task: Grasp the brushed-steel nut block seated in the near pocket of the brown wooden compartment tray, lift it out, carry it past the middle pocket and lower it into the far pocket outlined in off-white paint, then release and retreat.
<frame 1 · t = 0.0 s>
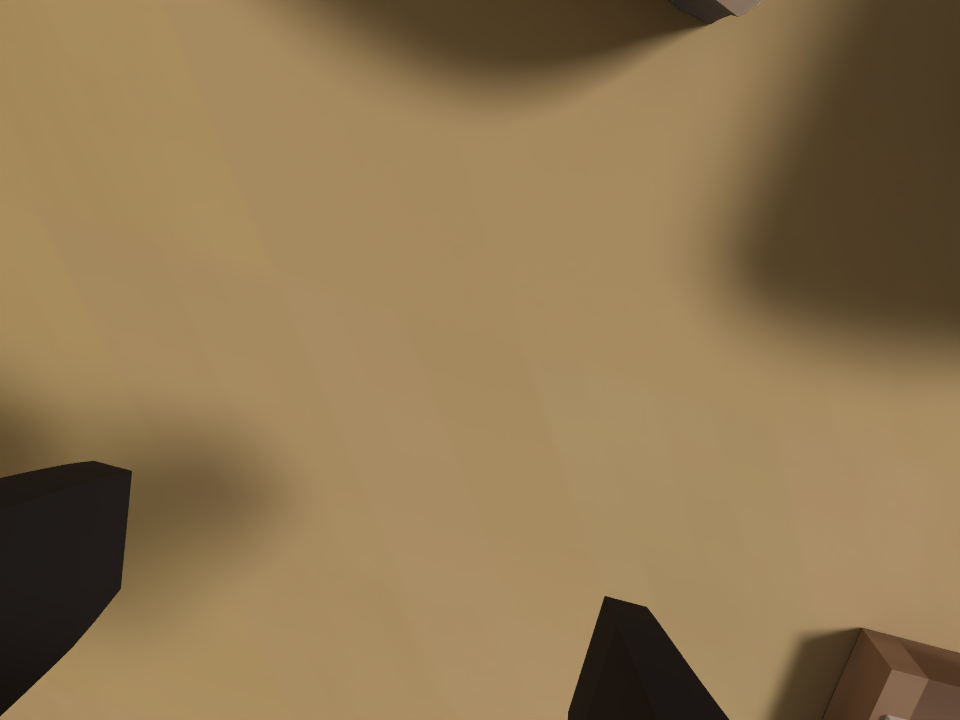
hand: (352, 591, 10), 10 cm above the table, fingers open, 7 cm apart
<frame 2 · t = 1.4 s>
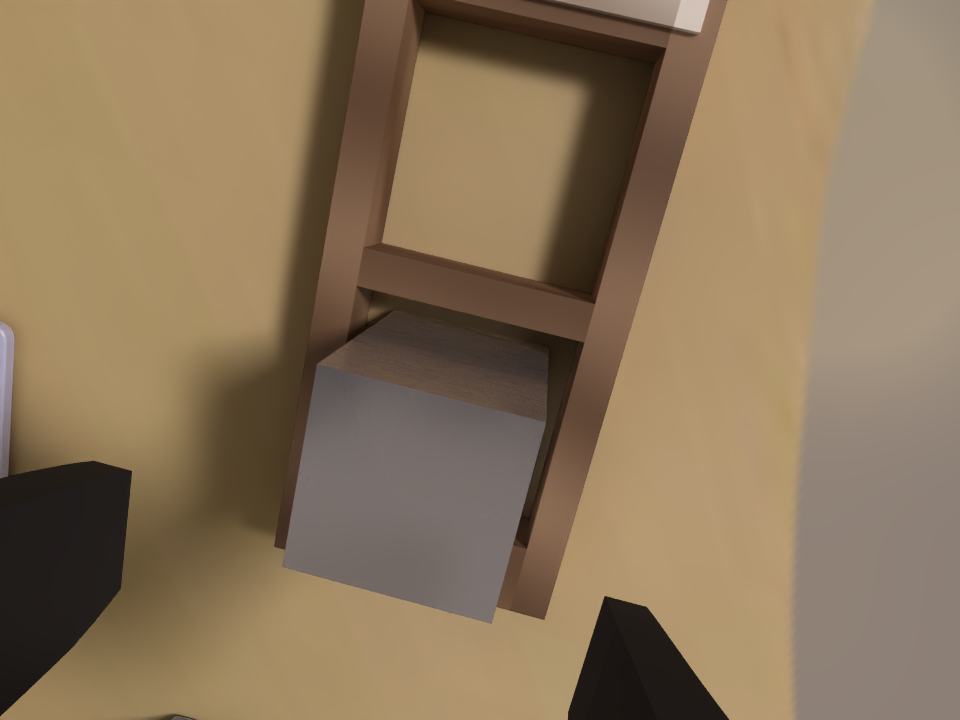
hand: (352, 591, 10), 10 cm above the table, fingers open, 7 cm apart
brown wooden compartment tray: (511, 158, 17), on the table
nut block: (454, 401, 19), resting in brown wooden compartment tray
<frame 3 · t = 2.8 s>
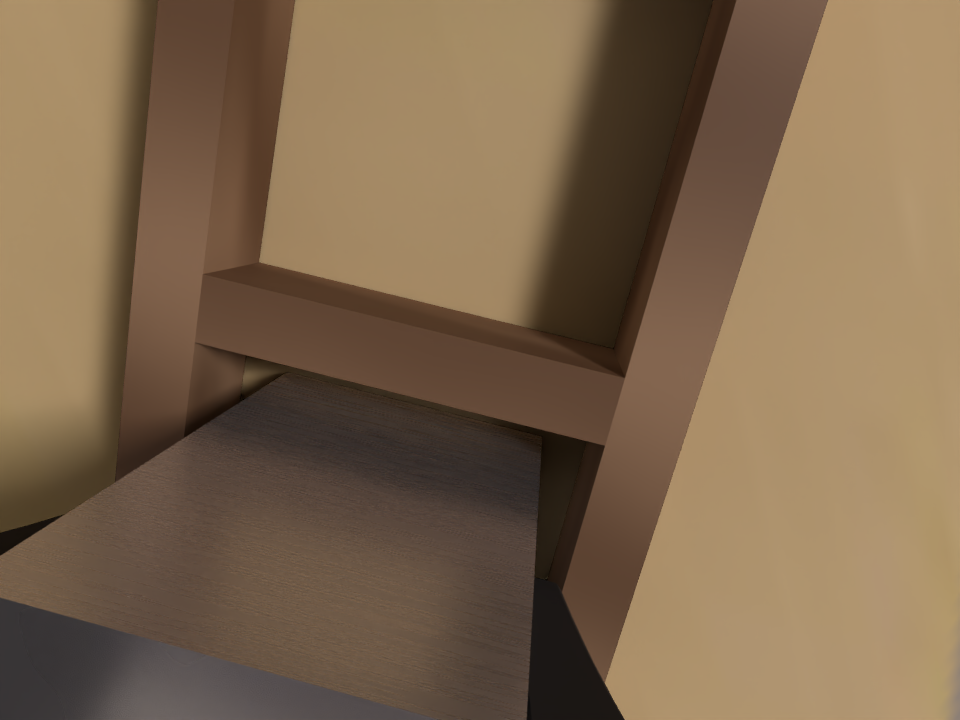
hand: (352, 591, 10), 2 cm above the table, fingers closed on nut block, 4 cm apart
brown wooden compartment tray: (473, 114, 10), on the table
nut block: (388, 520, 12), resting in brown wooden compartment tray, touching gripper
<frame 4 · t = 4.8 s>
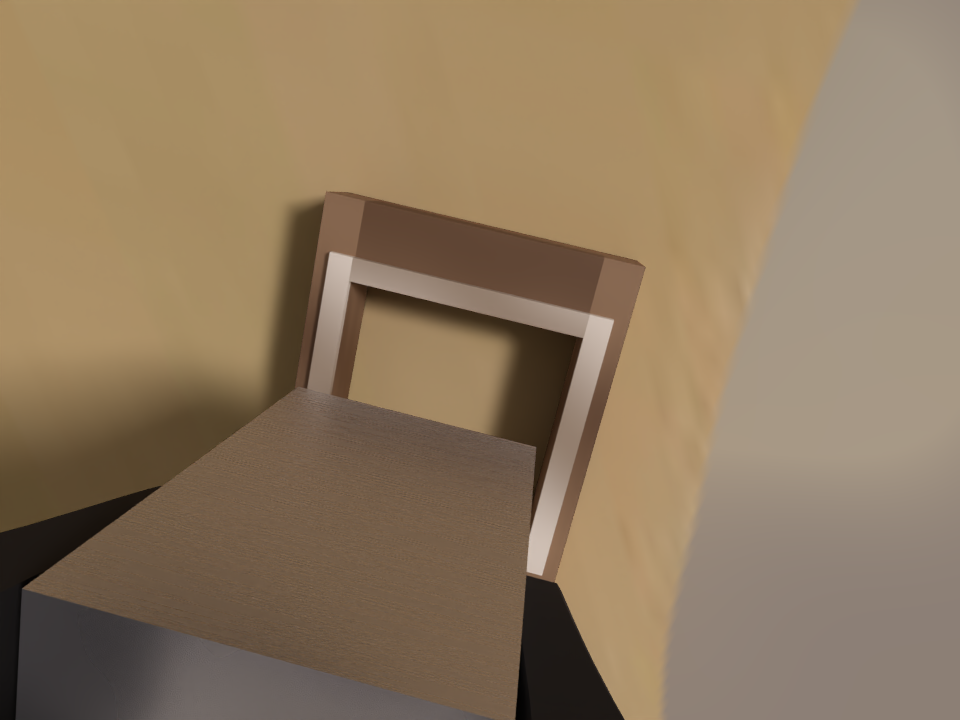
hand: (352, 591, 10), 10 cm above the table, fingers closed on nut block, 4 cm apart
brown wooden compartment tray: (405, 604, 21), on the table
nut block: (393, 524, 13), point 7 cm above the table, touching gripper
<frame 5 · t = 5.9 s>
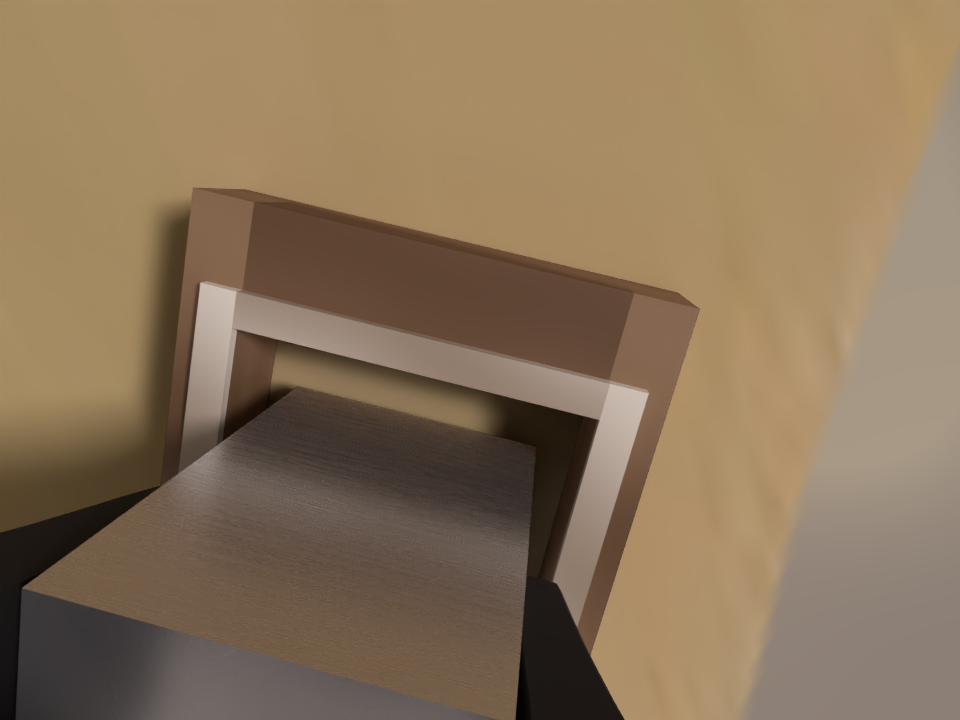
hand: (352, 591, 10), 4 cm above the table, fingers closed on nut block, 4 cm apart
nut block: (393, 524, 13), point 1 cm above the table, touching gripper
when the fingers open (3 cm above the table, at t = 6.8 s): nut block stays where it is, resting in brown wooden compartment tray.
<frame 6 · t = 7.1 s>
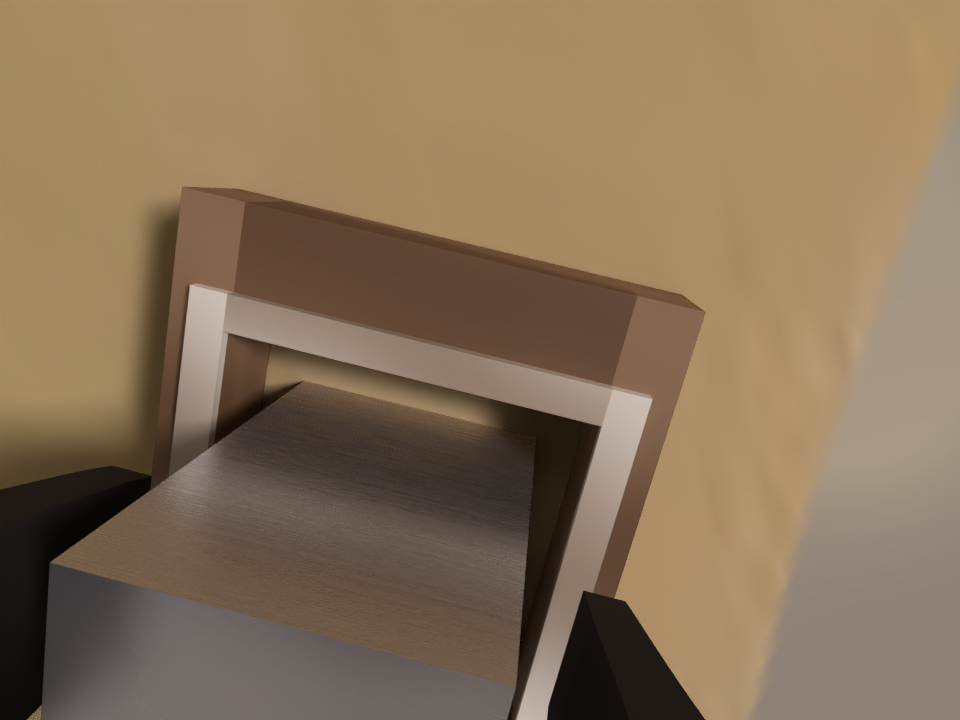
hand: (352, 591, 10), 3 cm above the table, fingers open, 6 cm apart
nut block: (397, 514, 13), resting in brown wooden compartment tray
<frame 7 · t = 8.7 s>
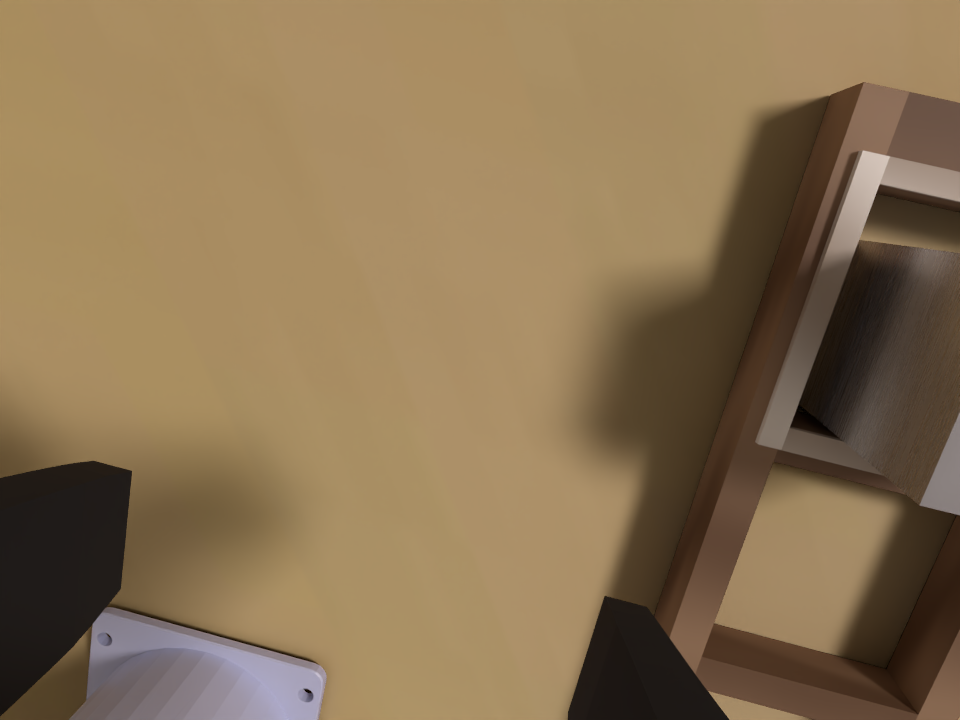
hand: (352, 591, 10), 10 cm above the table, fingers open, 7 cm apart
brown wooden compartment tray: (821, 556, 19), on the table
nut block: (906, 341, 18), resting in brown wooden compartment tray
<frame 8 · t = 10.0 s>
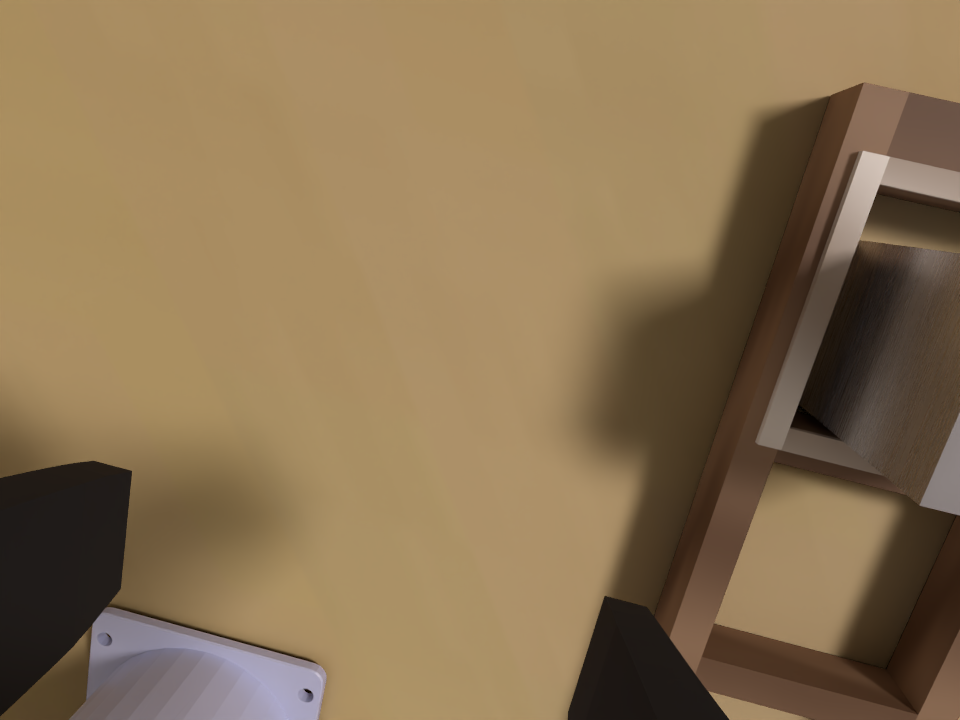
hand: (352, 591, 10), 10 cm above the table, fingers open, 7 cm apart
brown wooden compartment tray: (821, 557, 19), on the table
nut block: (906, 342, 18), resting in brown wooden compartment tray
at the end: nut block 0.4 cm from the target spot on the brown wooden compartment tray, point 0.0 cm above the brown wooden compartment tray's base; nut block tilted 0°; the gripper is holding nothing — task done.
